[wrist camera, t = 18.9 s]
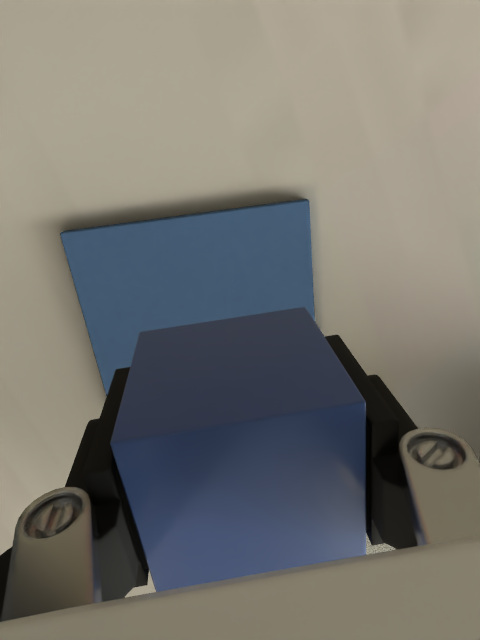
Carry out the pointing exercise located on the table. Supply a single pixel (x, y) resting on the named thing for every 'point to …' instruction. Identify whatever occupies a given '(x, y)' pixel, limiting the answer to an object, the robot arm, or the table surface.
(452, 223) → the table surface
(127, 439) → the blue block
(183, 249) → the blue mat
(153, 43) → the table surface
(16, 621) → the robot arm
